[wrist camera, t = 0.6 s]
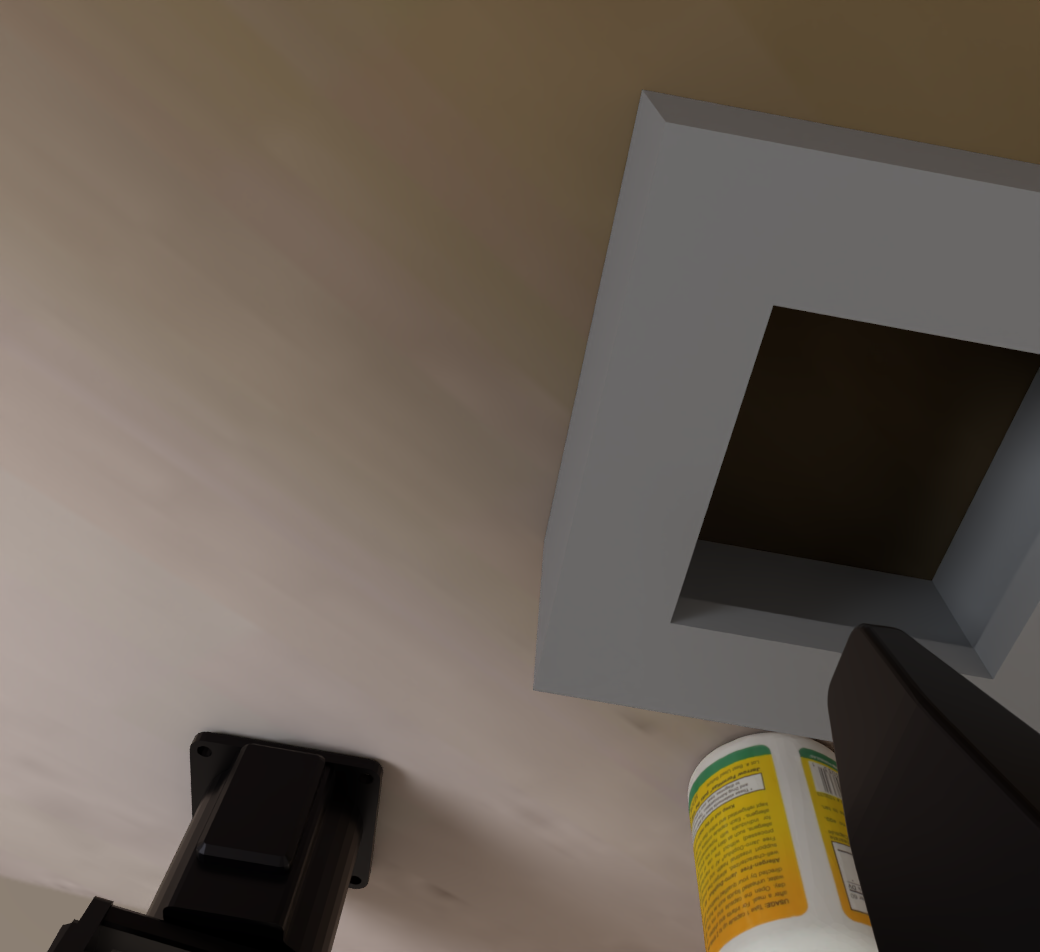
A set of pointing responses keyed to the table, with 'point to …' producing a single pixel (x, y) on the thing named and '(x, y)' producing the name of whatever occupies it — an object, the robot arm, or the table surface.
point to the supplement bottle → (775, 849)
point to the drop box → (719, 393)
